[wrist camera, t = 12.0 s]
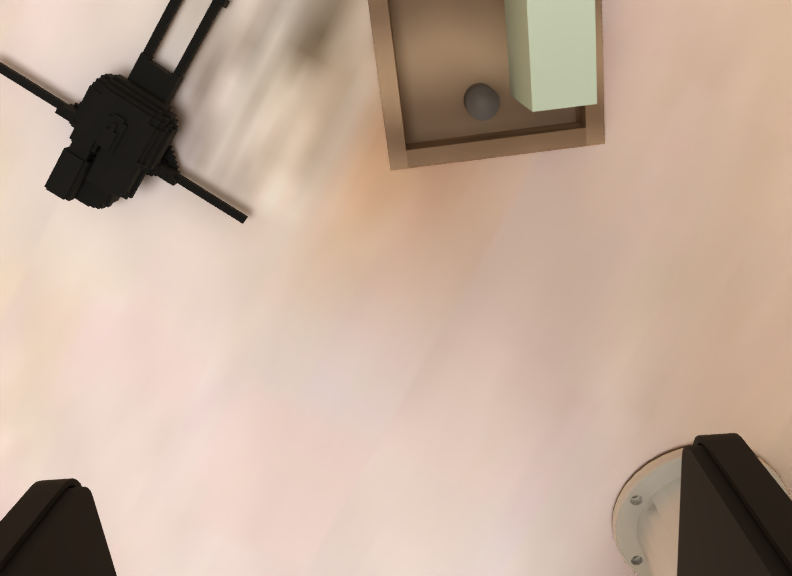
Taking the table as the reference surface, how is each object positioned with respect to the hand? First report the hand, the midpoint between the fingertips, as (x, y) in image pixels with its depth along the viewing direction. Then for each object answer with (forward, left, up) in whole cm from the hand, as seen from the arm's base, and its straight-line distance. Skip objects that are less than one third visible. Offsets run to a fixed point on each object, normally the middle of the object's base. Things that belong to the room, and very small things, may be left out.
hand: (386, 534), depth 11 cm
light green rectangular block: (+8, -8, -33) cm, 34 cm away
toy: (+6, +15, -34) cm, 38 cm away
